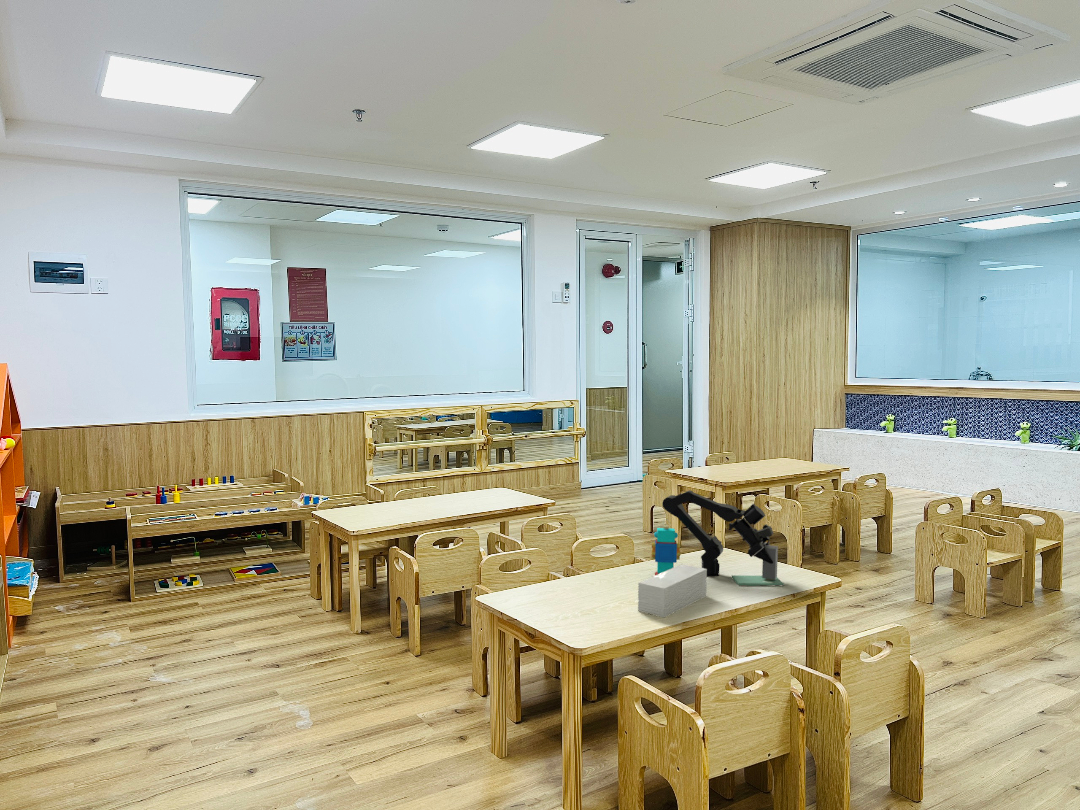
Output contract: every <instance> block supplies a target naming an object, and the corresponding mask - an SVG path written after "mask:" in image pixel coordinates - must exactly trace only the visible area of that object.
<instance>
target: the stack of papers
mask: <svg viewBox="0 0 1080 810" xmlns="http://www.w3.org/2000/svg"><path fill="white" fill-rule="evenodd" d="M706 571H707V569H704V568H702V567H699V566H693V565H688V564H683V563H682V564H679V565H677V566H674V568H672V569H669V570H667V571H665V572H662V573H660V574H658V575H655V574H654V575H653V576H651V577H649V578H646V579H644V580H642V581H639V582H638V583H637V585H638V586H637V590H638V591H637V593H638V594H637V612H638V611H641V612H640V613H642V612H645V613H644V614H646V613H650V614H653V615H652V616H654V615H657V616H656V617H658V616H660V617H659V618H662V617H665V618H667V617H668V615H669V614H670V615H672V614H674V613H676V612H678V611H680V610H682V609H684V608H686V607H688V606H690V605H691V604H693V603H695V602H697V601H700V600H702V599H703V598H706V597H707V581H708V580H707V579H708V576H707V572H706ZM699 599H700V600H699ZM677 610H678V611H677ZM675 611H676V612H675ZM673 612H674V613H673ZM650 614H649V615H650ZM670 615H669V616H670ZM666 616H667V617H666Z"/></svg>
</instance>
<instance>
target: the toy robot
mask: <svg viewBox="0 0 1080 810" xmlns="http://www.w3.org/2000/svg"><path fill="white" fill-rule="evenodd" d="M665 520H666V521H668V524H663V527H657V528H656V531H655V532H654V533H653V535H654V538H656V539H655V540H654V542H651V554H650V555H651V557H650V558H651V560H654V561H655V562H654V563H657V565H656V566H657V570H656V572H654V576H655V575H658V574H660V573H662V572H665V571H667V570H669V569H672V568H674V567H675V566H674V564H675V563H676V564H677V560H679V561H680V560H681V559H680V558H681V550H680V549H681V543H677V540H676V539H678V537H679V533H677V532H676V530H675V528H671V527H669V525H670V521H669V519H664V521H665Z"/></svg>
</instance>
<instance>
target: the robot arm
mask: <svg viewBox="0 0 1080 810" xmlns="http://www.w3.org/2000/svg"><path fill="white" fill-rule="evenodd" d="M687 502H689V503H692V504H694V505H697V506H699V507H701V508H703V509H704V510H708V511H711V512H713V513H714V514H716V515H717V516H718V517H719V518H721V519H722V520H723V521H725V522H727V523H728V530H729V531H732V530H733V529H734V530H735V531H736V532H737V533H738V534H739V536H740V537H741V538H742V539H741V540H742V542H744V541H745V542H746V543H747V545H748V546H749V547H748V550H747V555H749V556H750V558H753V557H754V558H758V559H760V560H762V561H763V560H764V561H766V562H768V563H770V564H772V563H773V561H772V559H771V558H770V556H769V555H768V553H767V552H766V546H765V545H770V539H771V538H770V537H773V535H774V531H773V528H772V527H771V525H768V524H767V523H766V524H763V525H762V528H761V529H759V530H758V529H757V528H756V527H754V528H753V527H752V526H751V525H754V526H755V525H756V524H757V523H759V522H760V521H761V520H762V519H763V518H765V517H766V513H765V512H764V510H763V509H761V508H760V506H757V505H756V504H755V503H752V504H751V505H750V506H749V507H748V508H747V509H746V510H744V509H740V508H738V507H736V506H735V505H733V504H732V505H731V504H727V503H719V502H717V501H715V500H712V499H710V498H707V497H705V496H703V495H701V494H698V493H696V492H694V491H692V490H690V489H688V490H687V491H685V492H683V493H680V494H677V495H675V494H672V495H669V496H667V497H665V498H664V499H663V500H662V507H663V509H664V510H665V511H666V512H668V513H669V514H671V515H672V516H674V517H676V518H678V520H679V521H680V522H681V523H682V524H683V525H684V526H685V527H686V529H687V530H688V531H689V532H691V534H692V535H693V536H694V537H695V538H696V540H697V541H699V543H700V544H701V546H702V549H703V551H704V553H702V554H701V556H700V559H701V568H704V569H707V571H706V572H707V576H706V577H719V576H720V563H719V560H718V558H719V556H721V555H722V554H723V551H724V545H723V544H722V543H723V542H722V541H721V540H719V538H718V537H717V536H716V535H714V536H710V535H709V534H708V533H707V532H706V531H705V530H704V529H703V528H702V526H700V525H699V523H698V522H697V521H695V519H694V518H693V517H692V516H691V515H690V514H689V513H688V512H687V511H686V510H685V507H684V505H683V504H684V503H687ZM741 518H742V519H741ZM733 521H734V522H733Z"/></svg>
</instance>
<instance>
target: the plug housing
mask: <svg viewBox="0 0 1080 810" xmlns="http://www.w3.org/2000/svg"><path fill="white" fill-rule="evenodd" d="M765 546H766V552H767V553H768V555H769V556H770V558H771V559H772V561H773V563H772V564H770V563H768V562H766V561H764V560H762V569H761V571H762V573H761V574H762V575H761V576H762V578H766V579H773V580H775V579H776V577H777V578H778V556H779V554H778V552H779V546H778V545H771V544H769V545H765Z"/></svg>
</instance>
